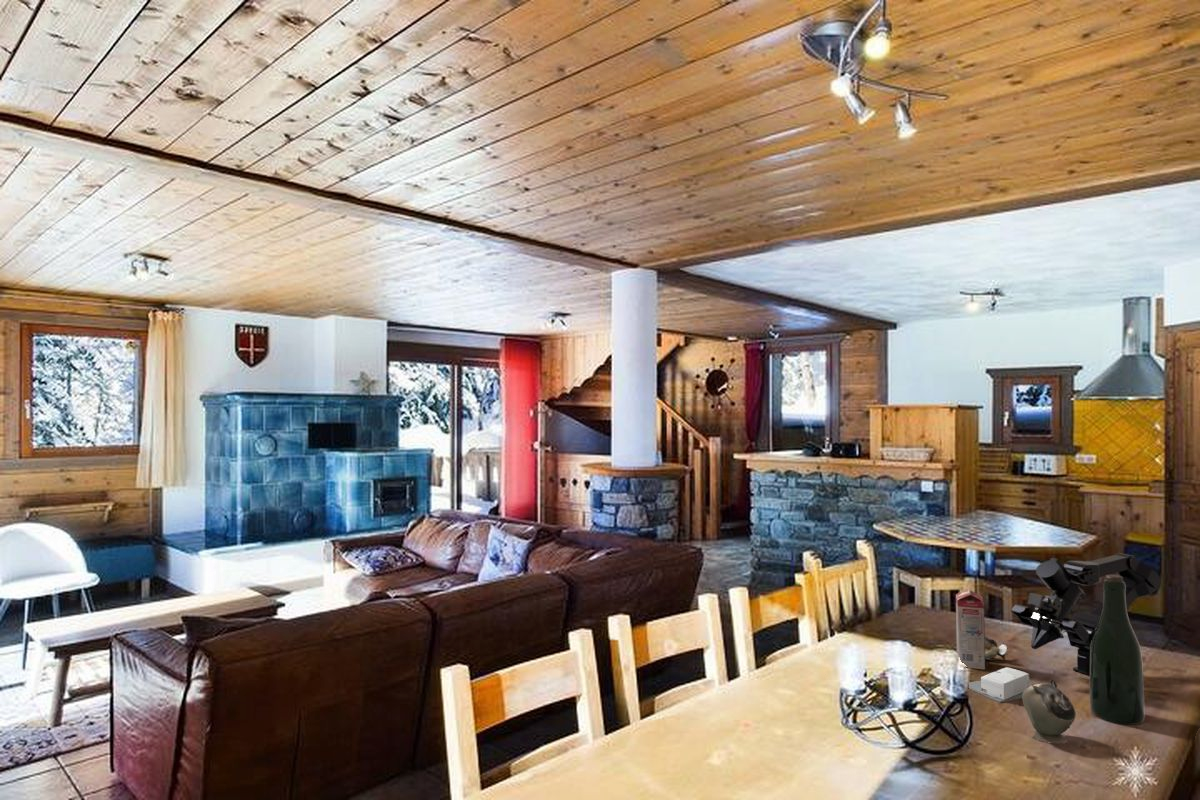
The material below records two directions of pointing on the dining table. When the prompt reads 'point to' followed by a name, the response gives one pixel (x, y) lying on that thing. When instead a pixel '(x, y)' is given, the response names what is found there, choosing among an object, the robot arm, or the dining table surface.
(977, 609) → the juice carton
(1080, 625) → the robot arm
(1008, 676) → the skincare box
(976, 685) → the mat
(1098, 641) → the beer bottle
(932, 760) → the dining table surface
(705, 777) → the dining table surface
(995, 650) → the eagle figurine
